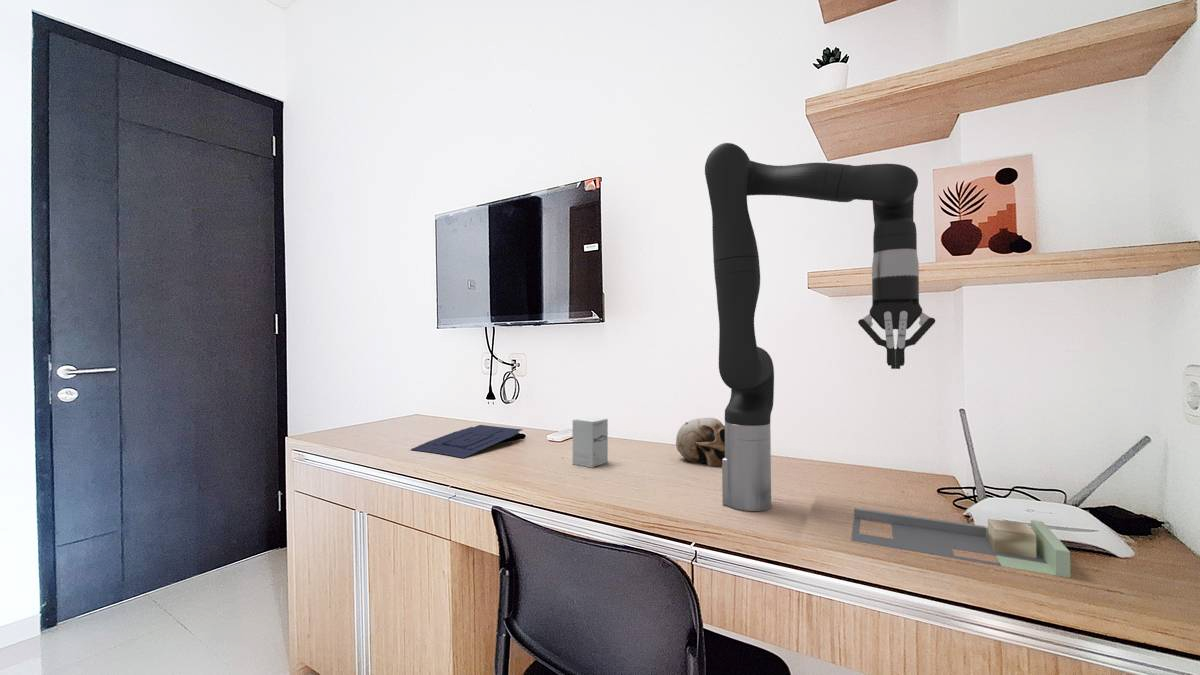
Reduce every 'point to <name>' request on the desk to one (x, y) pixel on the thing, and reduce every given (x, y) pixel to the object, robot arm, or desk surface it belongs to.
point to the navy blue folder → (468, 440)
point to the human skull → (702, 441)
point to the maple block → (1012, 538)
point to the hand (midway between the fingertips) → (895, 368)
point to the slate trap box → (963, 541)
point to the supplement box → (590, 441)
